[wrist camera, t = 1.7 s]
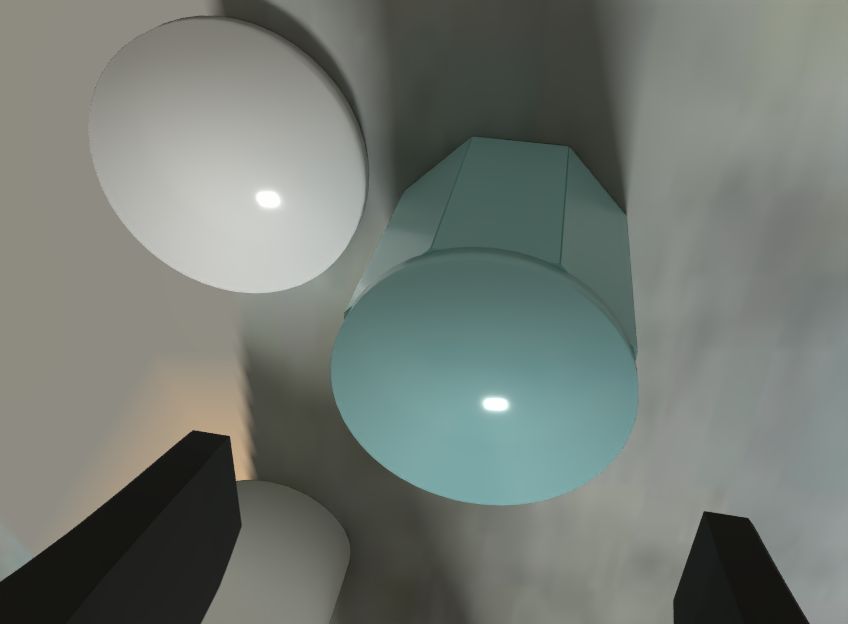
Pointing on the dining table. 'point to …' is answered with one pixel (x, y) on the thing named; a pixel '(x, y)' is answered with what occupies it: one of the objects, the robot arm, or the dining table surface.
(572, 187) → the teal octagonal canister
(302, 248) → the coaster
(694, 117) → the dining table surface
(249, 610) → the white rounded cylinder
